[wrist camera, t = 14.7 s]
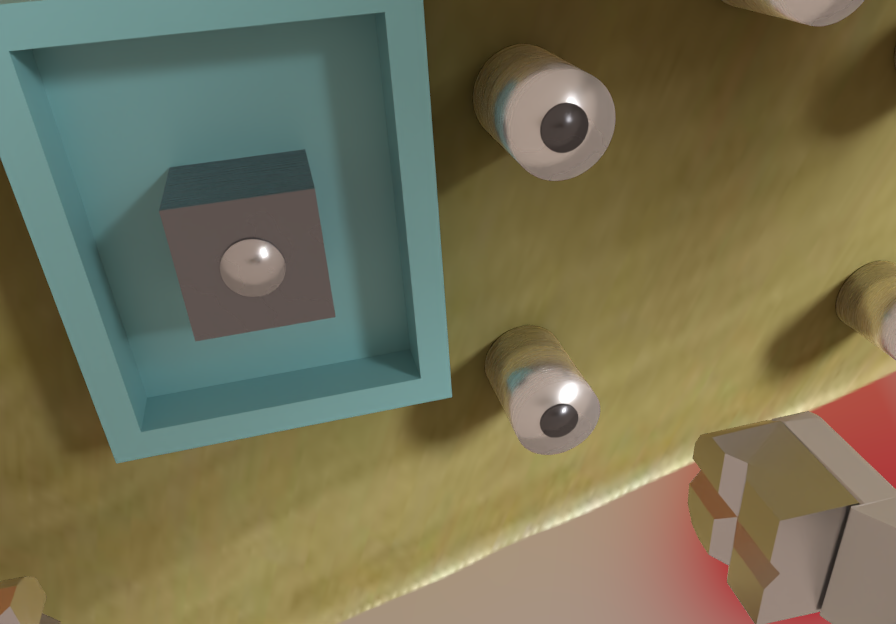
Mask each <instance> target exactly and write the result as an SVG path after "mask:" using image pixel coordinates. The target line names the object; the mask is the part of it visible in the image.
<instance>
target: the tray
mask: <svg viewBox="0 0 896 624" xmlns="http://www.w3.org/2000/svg"><path fill="white" fill-rule="evenodd" d="M303 149H305V151H306V155H307V159H308V163H309V167H310V171H311V175H312V179H313V183H314V187H315V192H316V198H317V204H318V211H319V217H320V223H321V229H322V235H323V242H324V248H325V254H326V260H327V266H328V273H329V279H330V285H331V291H332V297H333V303H334V310H335V316H336V317H334V318H328V319H322V320H317V321H311V322H305V323H299V324H293V325H288V326H282V327H276V328H270V329H265V330H259V331H253V332H247V333H242V334H236V335H230V336H224V337H219V338H213V339H207V340H201V341H196V342H195V339H194V335H193V332H192V328H191V324H190V321H189V317H188V314H187V310H186V306H185V303H184V299H183V296H182V292H181V288H180V285H179V281H178V278H177V274H176V270H175V267H174V263H173V260H172V256H171V252H170V249H169V245H168V242H167V238H166V234H165V231H164V227H163V224H162V220H161V217H160V213H159V208H160V204H161V200H162V196H163V192H164V188H165V184H166V180H167V176H168V171H169V167H176V166H184V165H191V164H198V163H206V162H213V161H221V160H228V159H236V158H243V157H251V156H258V155H266V154H273V153H280V152H288V151H295V150H303ZM0 158H1V161H2V163H3V166H4V168H5V171H6V174H7V176H8V179H9V182H10V184H11V187H12V190H13V192H14V195H15V197H16V200H17V203H18V205H19V208H20V211H21V213H22V216H23V219H24V221H25V224H26V227H27V229H28V232H29V234H30V237H31V240H32V242H33V245H34V248H35V250H36V253H37V256H38V258H39V261H40V263H41V266H42V269H43V271H44V274H45V277H46V279H47V282H48V285H49V287H50V290H51V292H52V295H53V298H54V300H55V303H56V306H57V308H58V311H59V314H60V316H61V319H62V321H63V324H64V327H65V329H66V332H67V335H68V337H69V340H70V343H71V345H72V348H73V350H74V353H75V356H76V358H77V361H78V364H79V366H80V369H81V372H82V374H83V377H84V379H85V382H86V385H87V387H88V390H89V393H90V395H91V398H92V401H93V403H94V406H95V408H96V411H97V414H98V416H99V419H100V422H101V424H102V427H103V430H104V432H105V435H106V437H107V440H108V443H109V445H110V448H111V451H112V453H113V456H114V459H115V461H116V463H121V462H126V461H131V460H136V459H141V458H147V457H152V456H157V455H162V454H167V453H172V452H177V451H182V450H187V449H192V448H197V447H202V446H207V445H212V444H217V443H223V442H228V441H233V440H238V439H243V438H248V437H253V436H258V435H263V434H268V433H273V432H278V431H283V430H288V429H294V428H299V427H304V426H309V425H314V424H319V423H324V422H329V421H334V420H339V419H344V418H349V417H354V416H359V415H365V414H370V413H375V412H380V411H385V410H390V409H395V408H400V407H405V406H410V405H415V404H420V403H425V402H430V401H436V400H441V399H446V398H451V397H452V388H451V374H450V361H449V347H448V333H447V320H446V306H445V292H444V279H443V265H442V251H441V238H440V224H439V210H438V197H437V183H436V169H435V156H434V142H433V128H432V115H431V101H430V87H429V74H428V60H427V46H426V33H425V19H424V5H423V0H0Z"/></svg>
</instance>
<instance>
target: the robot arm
mask: <svg viewBox="0 0 896 624" xmlns="http://www.w3.org/2000/svg"><path fill="white" fill-rule="evenodd" d="M693 459H694V461H695V462H696V463H697V465H698V466H699V468H700V469H701V470H700V472H699V473H698V474H697V476H696V477H695V478H694V479H693V480H692V481H691V483H690V484H689V495H688V506H689V512H690V516H691V521H692V525H693V527H694V529H695V531H696V534H697V536H698V538H699V540H700V542H701V543H702V545H703V546H704V548H705V549H706V551H707V553H708V554H709V555H711V556H712V557H714V558H717V559H718V560H720V561H722V562H723V563H725V564H727V565H729V570H728V577H727V583H728V585H729V586H730V588H731V589H732V590H733V592H734V593H735V595H736V596H737V598H738V599H739V601H740V602H741V604H742V605H743V607H744V608H745V610H746V611H747V613H748V614H749V616H750V617H751V619H752V620H753V622H754V623H755V624H766V623H771V622H775V621H779V620H784V619H788V618H793V617H798V616H802V615H807V614H811V613H816V612H820V611H821V612H820V616H821V617H823V618H824V619H826V620H827V621H829V622H830V623H832V624H896V489H895V488H894V487H892V485H890V484H889V483H888V482H887V481H886V480H885V479H884V478H883V477H882V476H881V475H880V474H879V473H878V472H877V471H876V470H875V469H874V468H872V467H871V465H869V463H868V462H867V461H865V460H864V459H863V458H862V457H861V456H860V455H859V454H858V453H857V452H856V451H855V450H854V449H853V448H852V447H851V446H850V445H849V444H848V443H847V442H846V441H845V440H843V438H841V437H840V436H839V435H838V434H837V433H836V432H835V431H834V430H833V429H832V428H831V427H830V426H829V425H828V424H827V423H826V422H825V421H824V420H823V419H822V418H821V417H819V416H818V415H816V414H814V413H811V412H809V411H806V412H802V413H797V414H793V415H788V416H784V417H779V418H775V419H772V420H766V421H761V422H757V423H752V424H748V425H743V426H739V427H734V428H729V429H725V430H720V431H716V432H711V433H707V434H702V435H700V437H699V438H698V440H697V441H696V443H695V447H694V454H693ZM46 598H47V596H46V594H45V592H44V591H43V589H42V587H41V586H40V584H39V582H38V581H37V579H36V577H26V576H25V577H19V578H14V579H9V580H3V581H0V624H61V622H60V621H58V620H56V619H54V618H52V617H50V616H47V615H45V614H43V613H42V612H43V608H44V605H45V601H46Z"/></svg>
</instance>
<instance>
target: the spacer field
mask: <svg viewBox="0 0 896 624" xmlns="http://www.w3.org/2000/svg"><path fill="white" fill-rule="evenodd" d="M722 1H723V2H724V3H726V4H728V5H731V6H734V7H738V8H742V9H746V10H750V11H754V12H758V13H762V14H766V15H770V16H774V17H778V18H782V19H786V20H790V21H794V22H798V23H802V24H806V25H810V26H826V25H831V24H834V23H836V22H838V21H840V20H842V19H844V18H846V17H847V16H849V15H850V14H851V13H853V12H854V11H855V10H856V9H857V8H858V7H859V6H860V5H861V4H862V3H863V2H864V0H722ZM894 61H895V68H896V48H895V55H894ZM473 105H474V110H475V113H476V116H477V118H478V120H479V122H480V124H481V125H482V126H483V128H484V129H485V130H486V131H487V132H488V133H489V134H490V135H491V136H492V137H493V138H494V139H495V140H496V141H497V142H498V143H499V144H500V145H501V146H502V147H503V148H504V149H505V150H506V151H507V152H508V153H509V154H510V155H511V156H512V157H513V158H514V159H515V160H516V161H517V162H518V163H519V164H520V165H521V166H522V167H523V168H524V169H525V170H526V171H528V172H529V173H530V174H532V175H534V176H536V177H538V178H541V179H544V180H549V181H560V180H566V179H570V178H573V177H576V176H578V175H580V174H582V173H584V172H585V171H587V170H588V169H589V168H591V167H592V166H593V165H594V164H595V163H596V162H597V161H598V160H599V159H600V158H601V157H602V155H603V154H604V152H605V151H606V149H607V148H608V145H609V143H610V141H611V139H612V136H613V132H614V128H615V107H614V103H613V99H612V97H611V95H610V93H609V91H608V90H607V88H606V87H605V86H604V84H603V83H602V82H601V81H600V80H598V79H597V78H596V77H594V76H592V75H591V74H589V73H587V72H585V71H583V70H582V69H580V68H578V67H576V66H574V65H572V64H571V63H569V62H567V61H565V60H563V59H561V58H560V57H558V56H556V55H554V54H552V53H550V52H548V51H547V50H545V49H543V48H541V47H538V46H535V45H532V44H516V45H512V46H509V47H506V48H504V49H502V50H500V51H498V52H497V53H495V54H494V55H493V56H492V57H491V58H490V59H489V60H488V61H487V62H486V63H485V64H484V66H483V67H482V69H481V70H480V72H479V74H478V76H477V79H476V82H475V85H474V91H473ZM836 312H837V315H838V317H839V318H840V320H841V321H843V322H844V323H845V324H847V325H848V326H849V327H851V328H852V329H854V330H855V331H856V332H858V333H859V334H860V335H862V336H863V337H865V338H866V339H867V340H869V341H870V342H871V343H873V344H874V345H876V346H877V347H878V348H880V349H881V350H882V351H884V352H885V353H887V354H888V355H889V356H891V357H892V358H893V359H895V360H896V265H895V264H893V263H891V262H889V261H876V262H872V263H869V264H867V265H865V266H863V267H861V268H860V269H858V270H857V271H856V272H854V273H853V274H852V275H851V276H850V277H849V278H848V279H847V281H846V282H845V283H844V285H843V286H842V288H841V290H840V292H839V294H838V297H837V300H836ZM485 372H486V375H487V377H488V379H489V381H490V383H491V385H492V387H493V389H494V391H495V393H496V395H497V397H498V399H499V401H500V403H501V405H502V407H503V409H504V411H505V413H506V415H507V417H508V419H509V421H510V423H511V425H512V427H513V429H514V431H515V433H516V435H517V437H518V439H519V441H520V442H521V444H522V445H523V446H524V447H525V448H526V449H528V450H530V451H532V452H534V453H537V454H543V455H551V454H558V453H562V452H565V451H568V450H570V449H572V448H574V447H575V446H577V445H579V444H580V443H581V442H583V441H584V440H585V439H586V438H587V437H588V436H589V435H590V434H591V432H592V431H593V430H594V428H595V426H596V424H597V422H598V419H599V416H600V404H599V400H598V398H597V396H596V394H595V393H594V392H593V390H592V389H591V387H590V386H589V384H588V383H587V382H586V380H585V379H584V377H583V376H582V374H581V373H580V372H579V370H578V369H577V367H576V366H575V364H574V363H573V361H572V360H571V359H570V357H569V356H568V354H567V353H566V351H565V350H564V349H563V347H562V346H561V344H560V343H559V341H558V340H557V339H556V337H555V336H554V335H553V334H552V333H551V332H550V331H548V330H547V329H545V328H542V327H539V326H521V327H517V328H514V329H512V330H510V331H508V332H506V333H505V334H503V335H502V336H500V337H499V338H498V339H497V340H496V341H495V342H494V343H493V345H492V346H491V348H490V349H489V351H488V353H487V356H486V360H485Z"/></svg>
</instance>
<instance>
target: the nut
mask: <svg viewBox="0 0 896 624" xmlns="http://www.w3.org/2000/svg"><path fill="white" fill-rule="evenodd" d="M159 213H160V217H161V220H162V224H163V227H164V231H165V234H166V238H167V242H168V245H169V249H170V252H171V256H172V260H173V263H174V267H175V270H176V274H177V278H178V281H179V285H180V288H181V292H182V296H183V299H184V303H185V306H186V310H187V314H188V317H189V321H190V324H191V328H192V332H193V335H194V339H195V342H196V341H201V340H207V339H213V338H219V337H224V336H230V335H236V334H242V333H247V332H253V331H259V330H265V329H270V328H276V327H282V326H288V325H293V324H299V323H305V322H311V321H317V320H322V319H328V318H334V317H336V316H335V310H334V303H333V297H332V291H331V285H330V279H329V273H328V266H327V260H326V254H325V248H324V242H323V235H322V229H321V223H320V217H319V211H318V204H317V198H316V192H315V187H314V183H313V179H312V175H311V171H310V167H309V163H308V159H307V155H306V151H305V149H303V150H295V151H288V152H280V153H273V154H266V155H258V156H251V157H243V158H236V159H228V160H221V161H213V162H206V163H198V164H191V165H184V166H176V167H169V171H168V176H167V180H166V184H165V188H164V192H163V196H162V200H161V204H160V208H159Z"/></svg>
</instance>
